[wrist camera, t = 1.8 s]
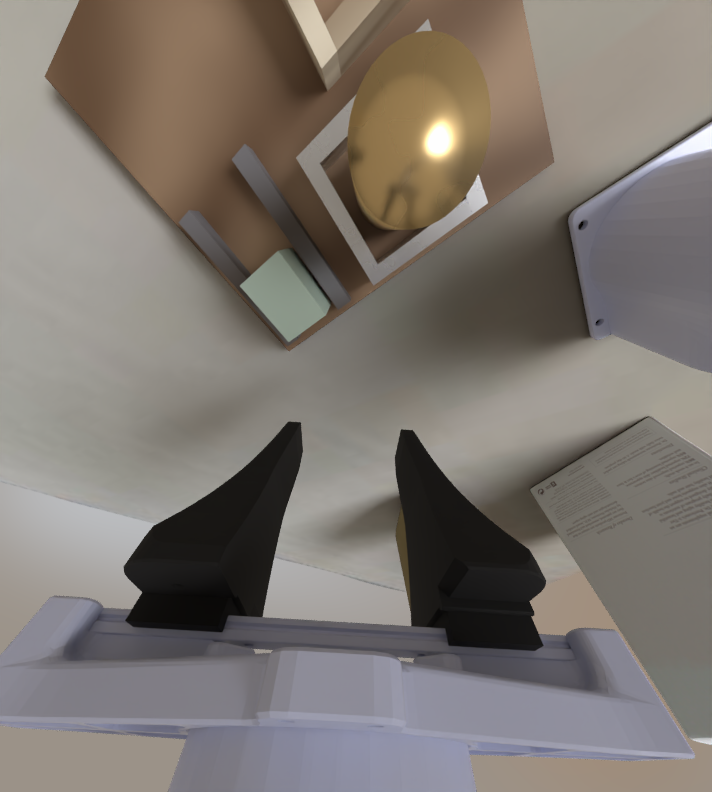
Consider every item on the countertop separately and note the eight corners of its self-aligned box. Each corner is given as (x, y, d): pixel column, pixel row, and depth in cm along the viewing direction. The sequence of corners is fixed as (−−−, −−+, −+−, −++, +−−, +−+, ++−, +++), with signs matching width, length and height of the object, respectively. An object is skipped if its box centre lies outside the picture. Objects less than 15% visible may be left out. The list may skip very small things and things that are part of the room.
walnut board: (543, 166, 14) (567, 157, 12) (291, 346, 20) (285, 356, 19) (384, -558, 6) (392, -835, 5) (65, 86, 13) (20, 64, 11)
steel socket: (473, 206, 14) (488, 203, 13) (372, 280, 16) (373, 285, 15) (418, 50, 11) (428, 18, 10) (304, 166, 13) (295, 157, 12)
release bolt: (331, 303, 17) (325, 315, 15) (299, 327, 18) (288, 342, 16) (292, 247, 15) (278, 250, 13) (258, 277, 16) (239, 285, 14)
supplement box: (593, 523, 33) (775, 757, 18) (526, 488, 29) (686, 744, 15) (716, 466, 26) (1149, 757, 12) (649, 412, 23) (1150, 732, 8)
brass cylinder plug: (440, 198, 14) (509, 168, 7) (379, 245, 15) (391, 256, 9) (406, 113, 12) (456, -27, 6) (340, 175, 14) (318, 120, 7)
